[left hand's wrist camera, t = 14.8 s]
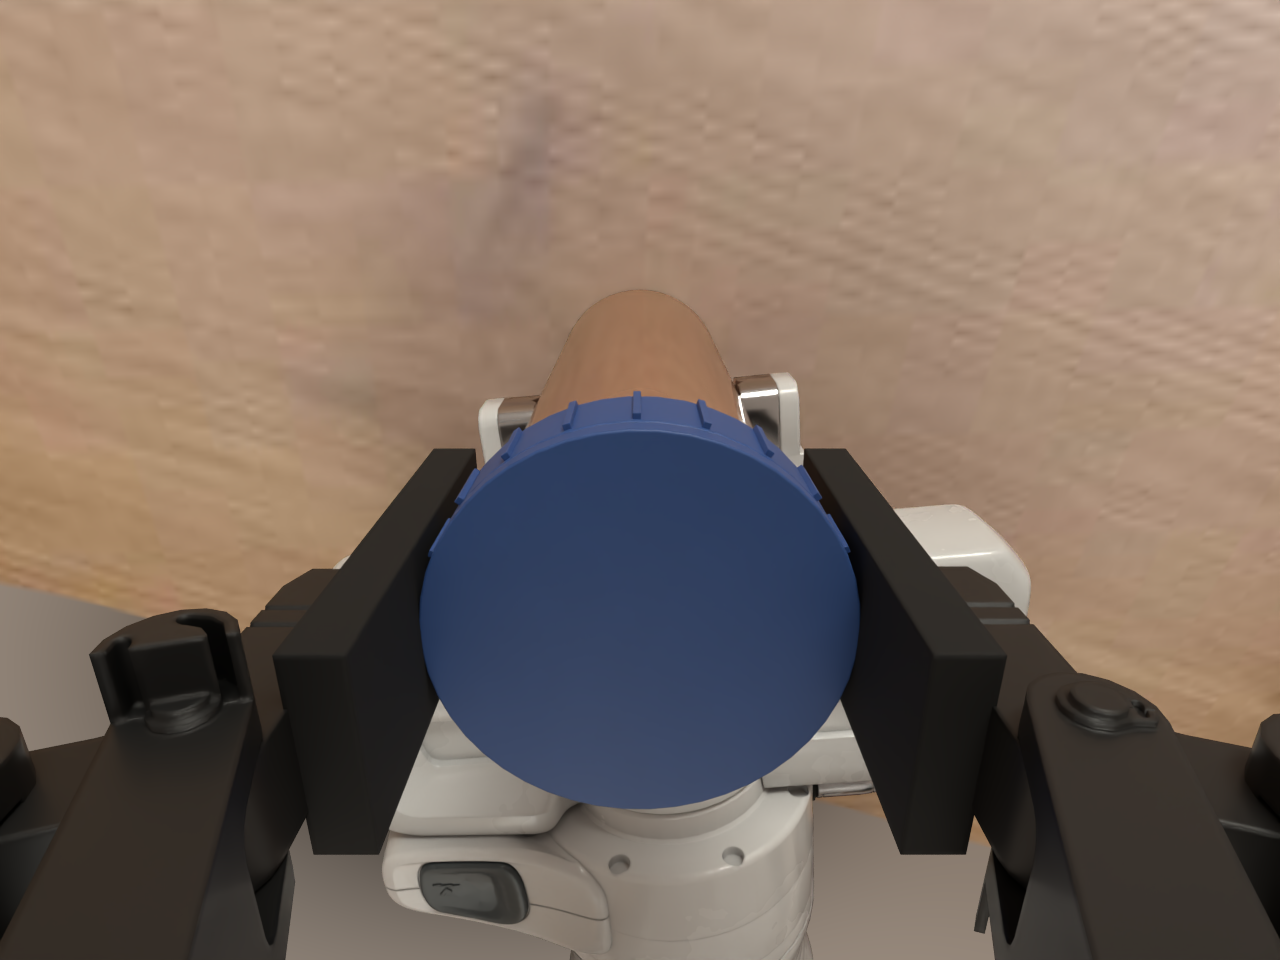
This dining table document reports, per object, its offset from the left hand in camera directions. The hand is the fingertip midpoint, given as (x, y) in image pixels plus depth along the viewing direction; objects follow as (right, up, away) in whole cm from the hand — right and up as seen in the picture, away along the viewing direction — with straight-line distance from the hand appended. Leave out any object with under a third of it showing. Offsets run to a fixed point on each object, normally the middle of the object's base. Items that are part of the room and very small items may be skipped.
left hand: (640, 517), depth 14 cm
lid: (0, -1, -4) cm, 4 cm away
